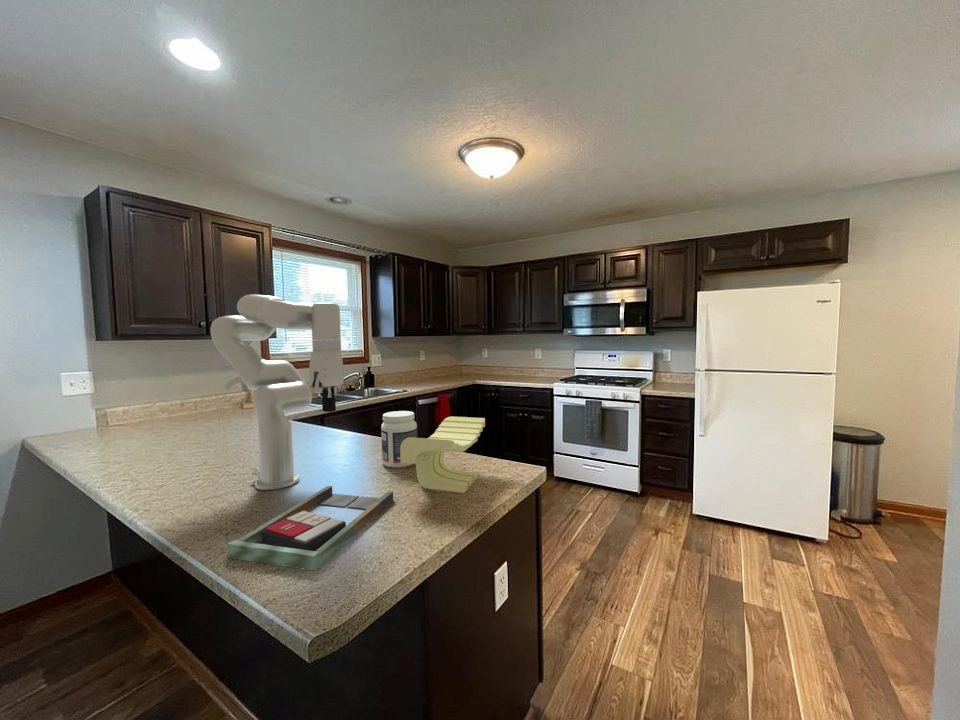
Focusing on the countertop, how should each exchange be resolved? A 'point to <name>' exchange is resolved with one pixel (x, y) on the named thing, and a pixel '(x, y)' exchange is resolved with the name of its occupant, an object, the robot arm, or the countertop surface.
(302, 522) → the calculator
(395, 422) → the supplement tub
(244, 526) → the countertop surface
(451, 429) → the slatted curved stool
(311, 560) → the channel
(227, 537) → the countertop surface
